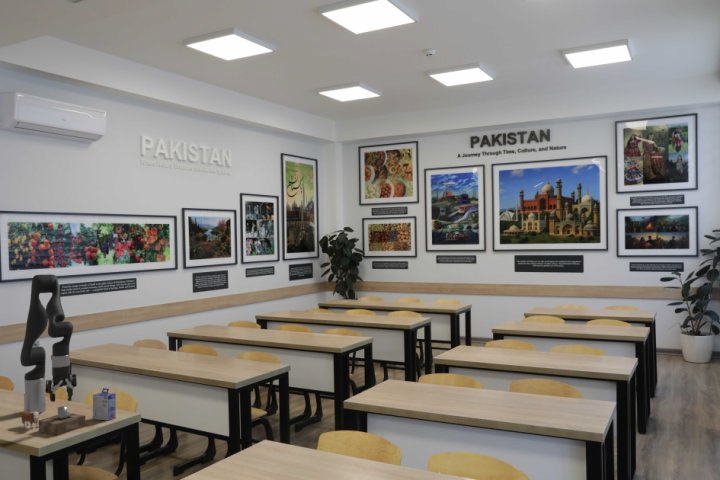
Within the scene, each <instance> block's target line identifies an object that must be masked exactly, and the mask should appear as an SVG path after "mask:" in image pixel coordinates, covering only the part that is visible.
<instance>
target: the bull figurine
mask: <svg viewBox="0 0 720 480" xmlns="http://www.w3.org/2000/svg"><path fill="white" fill-rule="evenodd" d="M41 414H42V412H39V413H38V412H28V411H24V410H23V411H22V412H21V413H20V415H21V416H20V418H21V424H23V428H27V426H29V425H30V427H29V428H30V429H33V424H35V426H36V428H37V429H39V415H41Z"/></svg>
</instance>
